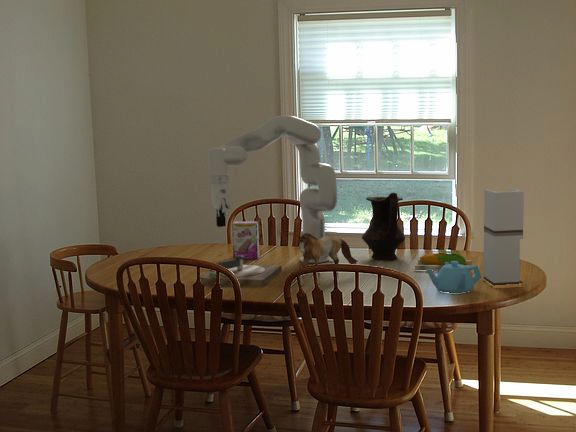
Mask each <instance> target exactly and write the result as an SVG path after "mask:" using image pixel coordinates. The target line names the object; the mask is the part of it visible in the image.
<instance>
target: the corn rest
mask: <svg viewBox="0 0 576 432" xmlns="http://www.w3.org/2000/svg"><path fill="white" fill-rule="evenodd" d="M424 264H426V263H424V262H422V261H421V260H420V258H419V259H417V264H414V271H415V270H428V269H431V270H433V271H440V269H441V268H442V267H443V266H440V265H424ZM466 265H472V266H473V260H466ZM466 267H469V266H466Z"/></svg>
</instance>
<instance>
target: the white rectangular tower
mask: <svg viewBox="0 0 576 432" xmlns="http://www.w3.org/2000/svg"><path fill="white" fill-rule="evenodd" d="M483 191H484V193H483V279H485V280H486V281H488V282H489V283H491V284H492V285H494V286H495V285H506V284H519V283H522V284H523V281H522V280H521V279H520V269H521V268H520V265H521V264H520V263H521V261H520V259H521V254H520V253H521V250H520V249H521V240H523V239H524V208H525V207H524V205H525V203H524V199H525V196H524V194H525V191H523V190H522V189H521V190H520V189H518V188H515V187H509V191H495V190H490V189H488V188H484V189H483Z"/></svg>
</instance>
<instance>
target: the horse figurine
mask: <svg viewBox="0 0 576 432" xmlns="http://www.w3.org/2000/svg"><path fill="white" fill-rule="evenodd" d="M297 237H298V238H299V241H298V243H299V245H300V250H299V252H300V253H301V254H302V256H303V257H304V259H303V262H302V263H301V267H305V266H307V265H308V264H309V263H308V261H309V260H311V259H313V260H314V261H315V263H314V264H315V266H316V265H318V264H319V258H320V257H322V256H325V255H327V254H329V256H330V257H329V259H331V260H332V261H333V264H334V265H335V264H338V265H339V262H340V259H339V257H338V253H339V251H340V250H341V254H342V255H343V258H344V259H346V260H347V262H348V263H349V265H351V264H354V265H357V262H359V260H357V259H355V258H354V257H353V256H352V254H351V248H350V246H349V244H348V243H347V242H346V241H345V240H344V239H342V238H340V237H337V236H334V235H330V234H329V235H325V236H324V237H322V238H321V239H317V238H316V237H314V236H312V235H311V234H309V233H305V234H303V233H302V235H298V236H297ZM305 268H306V267H305ZM303 275H304V274H303ZM303 275H302V276H301V275H300V278H299V280H300V279H301V280H300V281H301V284H302V285H303V286H304V284H305V282H304V280H303V279H304V277H303ZM338 277H339V272H337V278H338ZM317 280H318V284H317V285H320V283H321V273H318V272H317Z"/></svg>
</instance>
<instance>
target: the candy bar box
mask: <svg viewBox="0 0 576 432" xmlns="http://www.w3.org/2000/svg"><path fill="white" fill-rule="evenodd" d="M231 225H232V226H231V227H232V257H233V258H232V259H235V256H236V255H244V258H243V260H258V259H259V258H260V241H259V240H260V236H259V233H260V232H259V221H233V222H232V223H231Z"/></svg>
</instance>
